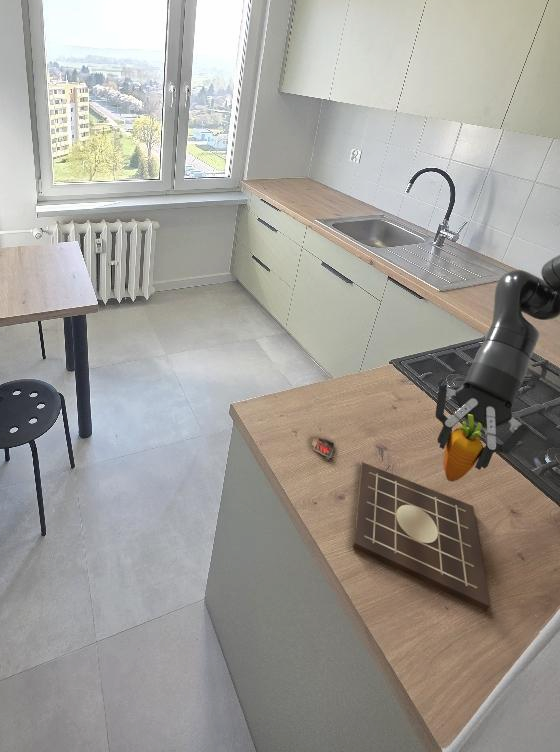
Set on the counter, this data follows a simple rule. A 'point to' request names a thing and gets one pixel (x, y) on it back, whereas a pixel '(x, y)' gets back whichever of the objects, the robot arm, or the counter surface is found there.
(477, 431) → the carrot
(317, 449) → the matchbox
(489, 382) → the robot arm
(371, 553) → the game board
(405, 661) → the counter surface
